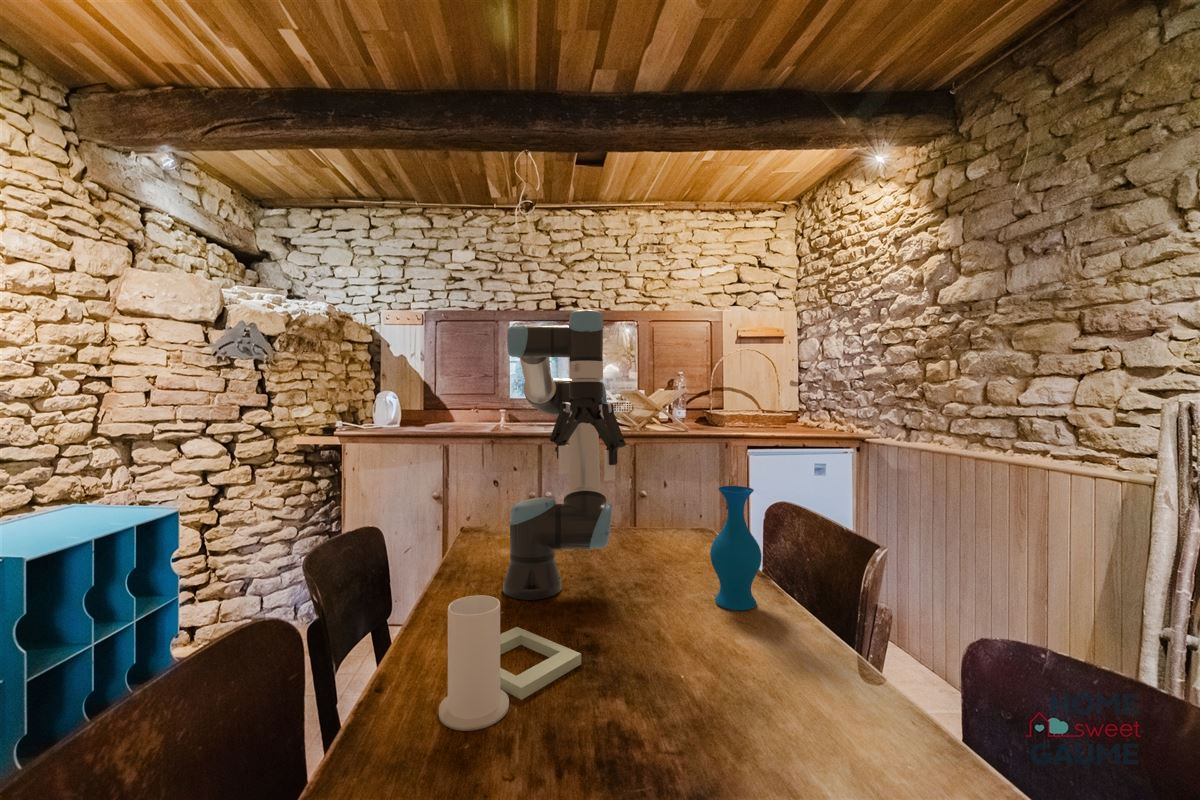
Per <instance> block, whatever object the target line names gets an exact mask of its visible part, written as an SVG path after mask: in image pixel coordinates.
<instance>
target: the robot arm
mask: <svg viewBox="0 0 1200 800" xmlns="http://www.w3.org/2000/svg"><path fill="white" fill-rule="evenodd" d="M603 316H604V315H603V313H602V312H600V311H598V310H595V309H594V310H591V309H579V310H573V311H572V312H570V314H569V321H568V322H569V323H568V325H527V324H523V325H511V326H510V327H509V328H508V330H507V335H506V336H507V337H506V347H507V354H508V355H509V356H510V357H512V358H517V359H519V361H520V365H521V370H522V375H523V378H524V383H523V395H524V397H525V398H526V401H527V402H528V403H529V405H531V406H532V407H533V408H535V409H536V410H538V411H539V412H542V413H544V414H546V415H550V416H557V418H556V421H555V424H554V426H553V429H552V432H551V435H550V437H549V441H550V442H551V443H554V444H555V445H556V458H557V460H558V475H565V474H568V475H569V477H568V480H569V481H568V489H569V490H568V493H567V494H566V495H565V496H564V497H563V503H557V502H556V500H555V498H553V497H545V496H542V497H534V498H529V499H525V500H521V501H519V502H516V503H515V504H513V505H512V506H511V508H510V517H509V522H508V523H509V563H508V566H507V571H506V574H505V577H504V578H503V582H502V592H503V594H504V595H505V596H507V597H509V598H510V599H512V598H513V599H516V600H522V601H523V600H525V601H526V600H527V601H536V600H542V599H547V598H551V597H553V596H556V595H557V594H559V593H560V592H561V591H562V578H561V575H560V572H559V569H558V565H557V562H556V558H555V557H556V550H589V551H590V550H595V549H596V550H599V549H604V548H606V547H608V545H609V542H610V533H611V532H610V531H611V523H612V514H613V513H612V511H613V504H612V503H610V502H607V497H606V495H605V494H604V493H603V492H601V474H600V473H601V472H600V466H601V465H600V444H599V443H600V439H601V440H602V442H603V444H604V445H605V447H606V448H605V450H604V451H603V453H604V455H603V462H604V463H603V464H604V465H603V467H604V468H603V469H604V471H603V473H604V474H603V475H604V477H603V478H604V479H603V481H604V482H611V481H614V480H615V479H616V465H617V464H618V451H619V449H621V448H623V447H624V448H625V446H626V441H625V438H624V436H623V433H622V431H621V428H620V426H619V422H618V420H617V417H616V413H615V408H614V404H613V403H612V402H609V403H608V400H607V391H606V387H605V384H604V381H603V379H604V358H603V354H604V350H603V349H604V319H603V318H604V317H603ZM551 358H568V364H569V365H568V366H569V367H568V370H569V371H568V378H567V377H566V378H561V377H559V378H557V377H552V371H551V361H550V359H551ZM599 437H600V439H599ZM568 441H569V443H568Z"/></svg>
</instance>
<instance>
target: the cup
mask: <svg viewBox="0 0 1200 800" xmlns="http://www.w3.org/2000/svg"><path fill="white" fill-rule="evenodd" d="M500 634H501V602H500V600H499V599H498V598H497V597H494V596H492V595H491V596H490V595H483V594H482V595H481V594H474V595H470V596H469V595H468V596H464V597H460V598H458V599H454V600H453V601H452V602H449V604H448V606H447V696H448V711H449V713H450V714H451V715H453V716H454V717H457V718H460V719H476V718H480V717H484V716H486V715H488V714H490V713H492V712H493V711H495V710H496V709H497V708H498V706H499V704H500V668H501V655H500Z"/></svg>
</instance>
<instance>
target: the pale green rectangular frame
mask: <svg viewBox="0 0 1200 800" xmlns="http://www.w3.org/2000/svg"><path fill="white" fill-rule="evenodd" d="M519 646H523V647H525V648H527V649H528V650H532V651H533V652H536V653H539V654H540V655H543V656H546V657H548V658H547V659H545V660H543V661H541V662H539V663H537V664H535V665H534V666H532V667H530V668H528V669H526V670H524V671H523V672H521V673H519V674H517V675H516V674H514V673H512V672H510V671H508V670H506V669H504V668H502V667H500V689H501V690H503V691H504V692H505V693H508V694H509V695H512V696H513V697H515V698H517V699H519V700H520V701H523V700H524V699H526V698H527V697H529V696H530V695H532V694H534V693H535V692H537V691H539V690H540V689H543V688H544V687H545V686H547V685H549V684H551V683H552V682H554V681H556V680H557V679H558V678H561V677H562V676H565V674H567V673H569V672H570V671H572V670H574V669H576V668H577V667H579V666H581V665H582V653H580V652H578V651H576V650H573V649H571V648H569V647H566V646H564V645H561V644H559V643H557V642H554V641H552V640H550V639H547V638H545V637H542V636H540V635H538V634H535V633H533V632H530V631H528V630H526V629H523V628H520V627H518V626H515V627H512V628H511V629H509V630H507V631H505V632H502V633H500V656H501V655H504V654H505V653H507V652H509V651H511V650H513V649H515V648H518V647H519Z"/></svg>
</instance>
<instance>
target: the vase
mask: <svg viewBox="0 0 1200 800" xmlns="http://www.w3.org/2000/svg"><path fill="white" fill-rule="evenodd" d="M717 490H718V491H719V492H720V494H722V496H723V497H724V500H725V503H726V506H727V517H726V520H725V523H724V526H723V528H722V529H721V531H720V532H719V533H718V534H717V536H716V537H715V538H714V540H713V542H712V545H711V547H710V552H709V556H710V560H711V565H712V567H713V570H714V571H715V574H716V575H717V578H718V580H719V587H720V588H719V590H718V591H719V592H718V593H717V595H716V596H715V597H714V602H715V603H716V604H717V605H718V606H720V607H721V608H724V609H726V610H730V611H737V612H738V611H739V612H742V611H743V612H744V611H749V610H752V609H754V608H755V607H756V606H757V604H758V603H757V601H756V598H755V597H754V596H753V593H752V585H753V582H754V579H755V578H756V576H757V574H758V572H759V570H760V568H761V565H762V558H763V557H762V551H761V548H760V545H759V543H758V542H757V539H755V537H754V536H753V534H752V533H751V531H750V529H749V528H748V525H747V523H746V520H745V506H746V502H747V500H748V498H749V497H750V496H751V494H752V493H753V492H755V491H754V489H753V488H752V487H749V486H748V487H747V486H742V485H741V486H740V485H725V486H720V487H718V488H717Z"/></svg>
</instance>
